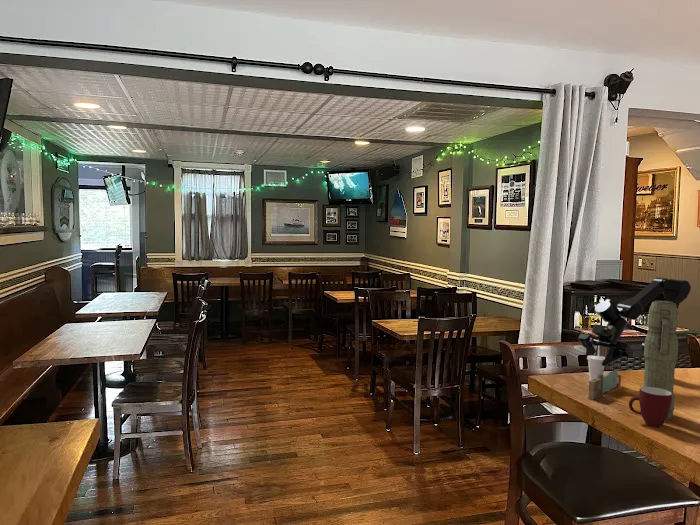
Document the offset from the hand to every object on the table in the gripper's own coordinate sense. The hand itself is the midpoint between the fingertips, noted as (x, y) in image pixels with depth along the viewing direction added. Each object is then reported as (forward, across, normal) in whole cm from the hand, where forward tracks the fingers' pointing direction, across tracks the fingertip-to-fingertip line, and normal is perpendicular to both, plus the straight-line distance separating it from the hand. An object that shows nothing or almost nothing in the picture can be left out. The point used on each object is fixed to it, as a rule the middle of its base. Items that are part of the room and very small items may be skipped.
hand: (594, 363), depth 183 cm
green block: (+6, +6, +6) cm, 10 cm away
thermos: (+12, +27, 0) cm, 30 cm away
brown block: (+8, +7, +4) cm, 11 cm away
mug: (+20, +30, -8) cm, 37 cm away
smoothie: (+5, 0, +6) cm, 8 cm away
